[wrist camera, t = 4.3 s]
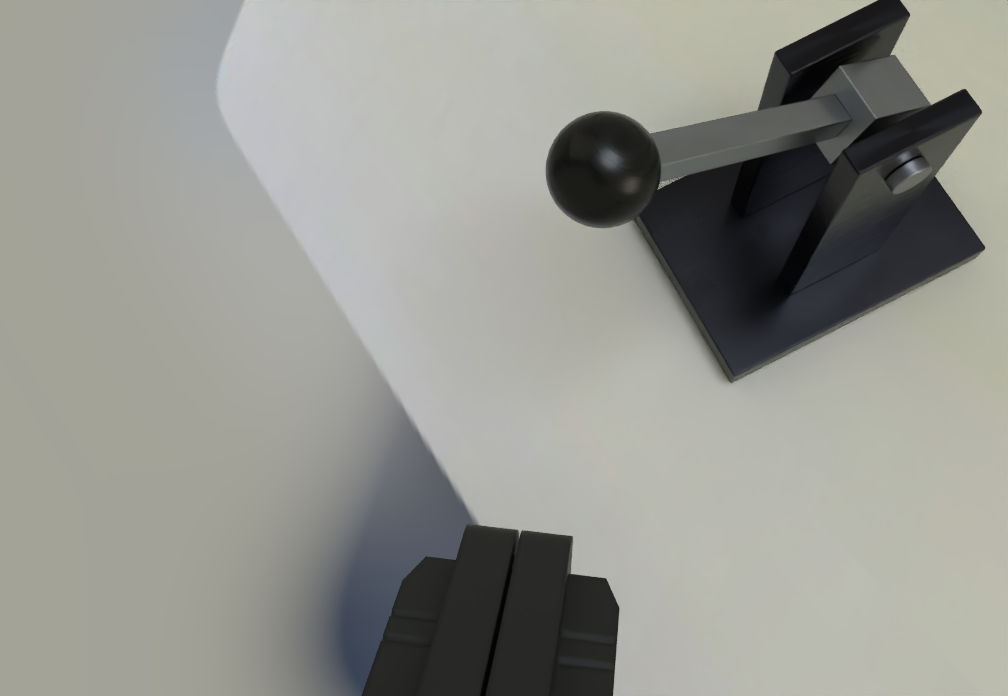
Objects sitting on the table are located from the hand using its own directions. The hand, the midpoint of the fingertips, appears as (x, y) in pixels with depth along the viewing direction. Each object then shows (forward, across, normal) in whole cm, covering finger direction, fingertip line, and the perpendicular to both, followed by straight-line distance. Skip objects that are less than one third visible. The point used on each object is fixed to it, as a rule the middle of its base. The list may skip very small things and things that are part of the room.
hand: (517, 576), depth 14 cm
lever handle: (+20, -3, +1) cm, 20 cm away
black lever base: (+31, -8, +7) cm, 33 cm away
